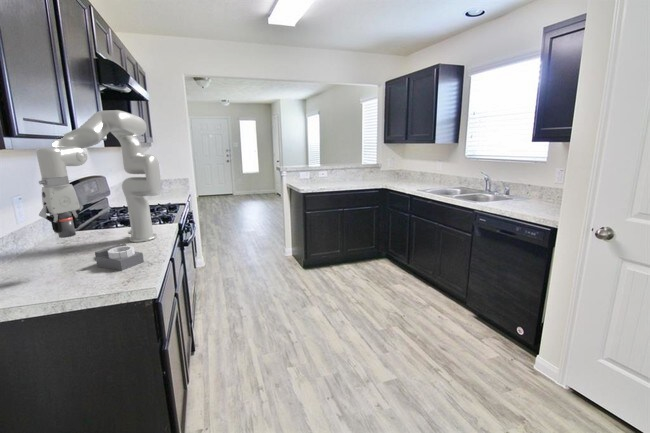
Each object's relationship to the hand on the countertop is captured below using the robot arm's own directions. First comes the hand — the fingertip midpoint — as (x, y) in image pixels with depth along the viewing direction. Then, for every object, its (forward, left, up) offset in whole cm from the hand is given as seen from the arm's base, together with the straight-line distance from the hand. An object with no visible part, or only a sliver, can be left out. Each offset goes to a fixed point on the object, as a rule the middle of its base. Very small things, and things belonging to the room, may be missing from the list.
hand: (66, 229), depth 128 cm
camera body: (+10, +12, -17) cm, 23 cm away
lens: (0, 0, -3) cm, 3 cm away
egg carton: (-3, +19, -18) cm, 26 cm away
